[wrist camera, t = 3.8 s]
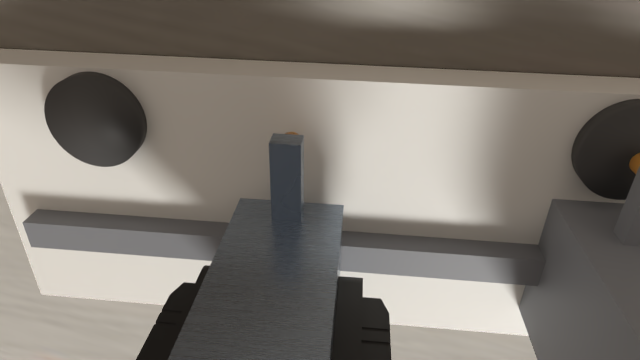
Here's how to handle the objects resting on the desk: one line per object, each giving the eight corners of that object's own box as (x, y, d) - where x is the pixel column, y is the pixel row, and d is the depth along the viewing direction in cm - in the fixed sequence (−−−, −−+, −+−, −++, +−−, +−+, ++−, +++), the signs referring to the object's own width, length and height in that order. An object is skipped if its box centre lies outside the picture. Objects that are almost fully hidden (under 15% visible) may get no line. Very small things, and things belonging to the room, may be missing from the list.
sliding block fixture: (730, 82, 13) (1062, 245, 7) (622, 313, 18) (764, 543, 11) (-9, 48, 15) (-297, 155, 9) (63, 268, 20) (-90, 449, 13)
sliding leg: (347, 127, 13) (317, 411, 6) (338, 311, 16) (311, 634, 9) (236, 122, 13) (71, 386, 6) (250, 304, 16) (155, 614, 9)
